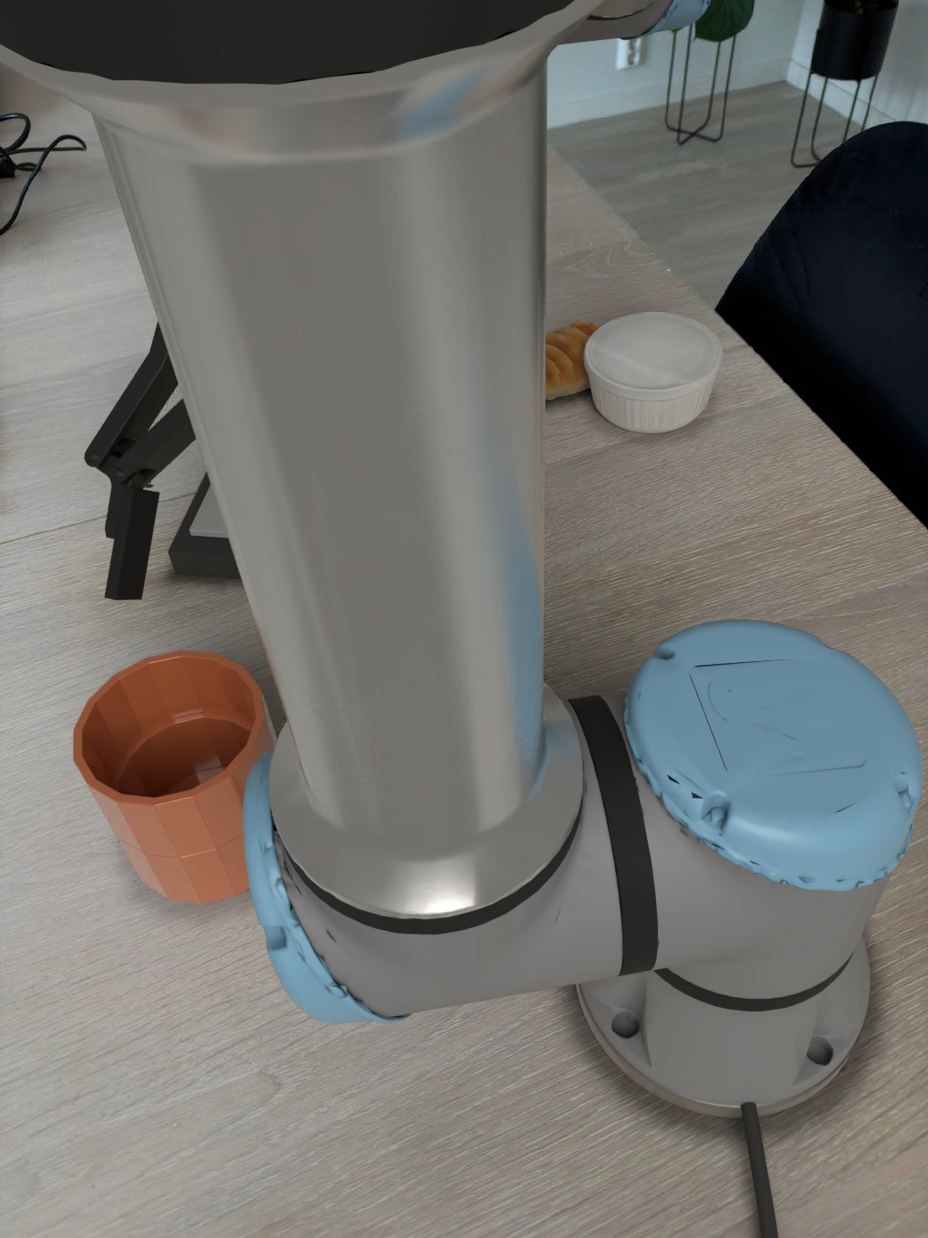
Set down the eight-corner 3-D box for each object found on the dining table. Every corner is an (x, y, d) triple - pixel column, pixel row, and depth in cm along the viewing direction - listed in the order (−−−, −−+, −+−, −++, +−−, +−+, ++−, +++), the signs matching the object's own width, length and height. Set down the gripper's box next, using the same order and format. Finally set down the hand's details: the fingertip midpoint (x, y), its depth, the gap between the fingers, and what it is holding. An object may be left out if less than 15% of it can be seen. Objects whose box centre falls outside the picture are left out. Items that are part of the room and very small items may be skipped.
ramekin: (578, 440, 90) (579, 387, 86) (587, 361, 97) (588, 308, 93) (717, 446, 88) (724, 392, 84) (715, 365, 95) (722, 312, 92)
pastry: (541, 418, 92) (540, 381, 89) (491, 382, 95) (489, 346, 93) (623, 374, 95) (625, 336, 92) (572, 341, 99) (572, 304, 96)
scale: (383, 590, 80) (378, 561, 77) (175, 574, 82) (165, 545, 80) (423, 450, 90) (420, 421, 88) (238, 439, 93) (230, 411, 90)
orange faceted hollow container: (272, 917, 63) (230, 814, 55) (106, 896, 64) (41, 793, 56) (317, 769, 69) (285, 658, 61) (165, 754, 71) (114, 643, 63)
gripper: (521, 294, 61) (449, 666, 63) (136, 242, 67) (80, 579, 69) (487, 256, 54) (406, 676, 56) (59, 201, 60) (-1, 579, 62)
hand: (225, 623), depth 62 cm, fingers open, 13 cm apart
